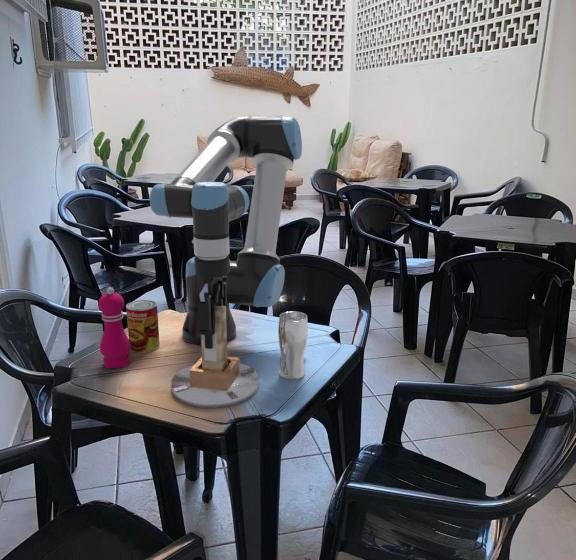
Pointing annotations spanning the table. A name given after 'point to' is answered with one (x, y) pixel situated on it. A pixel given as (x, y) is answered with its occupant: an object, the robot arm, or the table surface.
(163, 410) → the table surface
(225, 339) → the wedge pin
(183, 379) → the rosette plate
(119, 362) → the pepper mill
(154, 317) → the canned food
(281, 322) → the beer glass
